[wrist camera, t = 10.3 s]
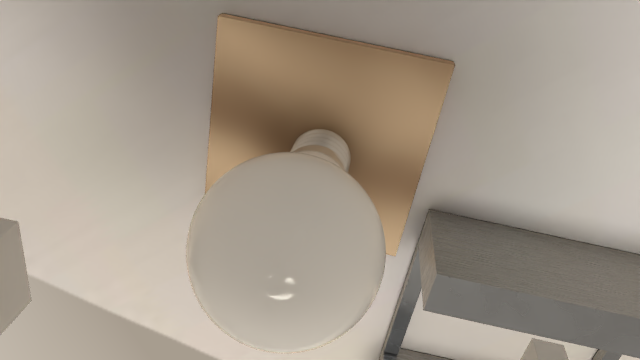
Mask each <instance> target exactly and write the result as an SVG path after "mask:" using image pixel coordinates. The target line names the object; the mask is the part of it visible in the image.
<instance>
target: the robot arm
mask: <svg viewBox="0 0 640 360" xmlns="http://www.w3.org/2000/svg"><path fill="white" fill-rule="evenodd" d="M30 302H31V294H30V288H29V282H28V276H27V270H26V264H25V258H24V252H23V247H22V241H21V235H20V229H19V223H18V222H17V221H13V220H9V219H4V218H0V335H1V334H2V333H3V332H4V331H5V330H6V328H7V327H8V326H9V325H10V324H11V323H12V322H13V321H14V320H15V318H16V317H17V316H18V315H19V314H20V313H21V312H22V311H23V310H24V308H25V307H26V306H27V305H28V304H29V303H30ZM520 360H568V357H567V354H566V351H565V348H564V346H563V345H560V344H555V343H551V342H546V341H542V340H537V339H533V338H532V340H531V342H530V343H529V345H528V347H527V349H526V351H525V352H524V354H523V356H522V358H521V359H520Z"/></svg>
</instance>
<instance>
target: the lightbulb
mask: <svg viewBox="0 0 640 360" xmlns="http://www.w3.org/2000/svg"><path fill="white" fill-rule="evenodd" d="M350 161H351V155H350V150H349V148H348V145H347V144H346V142H345V141H344V140H343V139H342V138H341V137H340V136H339V135H337V134H336V133H334V132H332V131H329V130H325V129H313V130H309V131H307V132H305V133H303V134H302V135H300V136H299V137H298V138H297V140H296V141H295V143H294V145H293V147H292V149H291V151H290V152H275V153H269V154H264V155H260V156H257V157H254V158H251V159H249V160H246V161H244V162H242V163H240V164H238V165H237V166H235V167H233V168H232V169H230V170H229V171H228V172H226V173H225V174H224V175H223V176H221V177H220V178H219V179H218V180H217V181H216V182H215V183H214V184H213V185H212V186H211V187H210V189H209V190H208V191H207V192H206V194H205V195H204V197H203V198H202V200H201V201H200V203H199V205H198V207H197V209H196V211H195V213H194V215H193V218H192V221H191V224H190V227H189V232H188V237H187V245H186V263H187V270H188V276H189V280H190V283H191V286H192V289H193V292H194V294H195V296H196V298H197V300H198V302H199V304H200V306H201V307H202V309H203V310H204V312H205V313H206V314H207V316H208V317H209V318H210V319H211V321H212V322H213V323H214V324H215V325H216V326H217V327H218V328H219V329H221V330H222V331H223V332H224V333H226V334H227V335H228V336H230V337H231V338H233V339H234V340H236V341H238V342H240V343H242V344H244V345H246V346H249V347H251V348H254V349H258V350H261V351H266V352H272V353H299V352H305V351H309V350H313V349H316V348H319V347H322V346H324V345H326V344H329V343H331V342H332V341H334V340H336V339H338V338H339V337H341V336H342V335H344V334H345V333H346V332H348V331H349V330H350V329H351V328H352V327H353V326H354V325H356V323H357V322H358V321H359V320H360V319H361V318H362V317H363V316H364V314H365V313H366V312H367V310H368V309H369V307H370V306H371V304H372V302H373V301H374V299H375V297H376V295H377V292H378V290H379V287H380V284H381V281H382V278H383V274H384V268H385V261H386V242H385V235H384V230H383V225H382V222H381V219H380V216H379V213H378V211H377V209H376V207H375V205H374V203H373V201H372V200H371V198H370V196H369V195H368V193H367V192H366V191H365V189H364V188H363V187H362V186H361V185H360V184H359V182H358V181H357V180H356V179H354V178H353V177H352V176H351V175H350V174H349V173H348V171H349V166H350Z"/></svg>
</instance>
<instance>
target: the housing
mask: <svg viewBox="0 0 640 360" xmlns="http://www.w3.org/2000/svg"><path fill="white" fill-rule="evenodd" d="M421 288H422V299H423V310H424V311H429V312H433V313H438V314H442V315H447V316H451V317H456V318H460V319H465V320H469V321H474V322H478V323H483V324H488V325H492V326H497V327H501V328H506V329H510V330H515V331H519V332H524V333H528V334H533V335H537V336H542V337H546V338H551V339H555V340H560V341H564V342H569V343H573V344H578V345H582V346H587V347H591V348H596V349H599V350H598V351H597V353H596V354H595V356H594V357H593V359H592V360H619V358H620V357H621V355H622V354H623V355H627V356H632V357H637V358H640V255H638V254H634V253H629V252H624V251H620V250H615V249H610V248H606V247H601V246H597V245H592V244H587V243H583V242H578V241H573V240H569V239H564V238H560V237H555V236H550V235H546V234H541V233H536V232H532V231H527V230H523V229H518V228H513V227H509V226H504V225H499V224H495V223H490V222H486V221H481V220H476V219H472V218H467V217H462V216H458V215H453V214H448V213H444V212H439V211H435V210H430V209H429V211H428V214H427V217H426V220H425V223H424V226H423V229H422V232H421V235H420V238H419V241H418V244H417V247H416V250H415V253H414V256H413V259H412V262H411V265H410V268H409V271H408V274H407V277H406V280H405V283H404V286H403V289H402V291H401V294H400V297H399V300H398V303H397V306H396V309H395V312H394V315H393V318H392V321H391V324H390V327H389V330H388V333H387V336H386V339H385V342H384V345H383V348H382V351H381V354H380V357H379V360H451V359H446V358H442V357H437V356H433V355H428V354H424V353H419V352H415V351H410V350H406V349H402V348H400V347H401V344H402V341H403V338H404V336H405V333H406V330H407V327H408V324H409V322H410V319H411V316H412V313H413V311H414V308H415V305H416V302H417V299H418V297H419V294H420V291H421Z"/></svg>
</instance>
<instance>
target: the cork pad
mask: <svg viewBox="0 0 640 360" xmlns="http://www.w3.org/2000/svg"><path fill="white" fill-rule="evenodd" d="M454 67H455V64H454V62H453V61H449V60H444V59H439V58H435V57H430V56H425V55H420V54H415V53H411V52H406V51H401V50H396V49H391V48H386V47H382V46H377V45H372V44H367V43H362V42H358V41H353V40H348V39H343V38H338V37H334V36H329V35H324V34H319V33H314V32H310V31H305V30H300V29H295V28H290V27H286V26H281V25H276V24H271V23H266V22H261V21H257V20H252V19H247V18H242V17H237V16H233V15H228V14H223V13H222V14H220V15H219V16H218V20H217V34H216V48H215V62H214V76H213V90H212V103H211V117H210V131H209V145H208V159H207V173H206V187H205V194H206V192H207V191H208V190H209V189H210V187H211V186H212V185H213V184H214V183H215V182H216V181H217V180H218V179H219V178H220V177H221V176H223V175H224V174H225V173H226V172H228V171H229V170H230V169H232V168H233V167H235V166H237V165H238V164H240V163H242V162H244V161H246V160H249V159H251V158H254V157H257V156H260V155H264V154H269V153H275V152H290V151H291V149H292V147H293V145H294V143H295V141H296V140H297V138H298V137H299V136H300V135H302V134H303V133H305V132H307V131H309V130H313V129H325V130H329V131H332V132H334V133H336V134H337V135H339V136H340V137H341V138H342V139H343V140H344V141H345V142H346V144H347V145H348V148H349V150H350V155H351V161H350V166H349V171H348V173H349V174H350V175H351V176H352V177H353V178H354V179H356V180H357V181H358V182H359V184H360V185H361V186H362V187H363V188H364V189H365V191H366V192H367V193H368V195H369V196H370V198H371V200H372V201H373V203H374V205H375V207H376V209H377V211H378V213H379V216H380V219H381V222H382V225H383V230H384V235H385V242H386V254H387V255H392V256H396V252H397V249H398V246H399V243H400V240H401V236H402V233H403V230H404V227H405V224H406V220H407V217H408V214H409V211H410V208H411V204H412V201H413V198H414V195H415V192H416V188H417V185H418V182H419V179H420V176H421V172H422V169H423V166H424V163H425V160H426V156H427V153H428V150H429V147H430V144H431V140H432V137H433V134H434V131H435V128H436V124H437V121H438V118H439V115H440V112H441V108H442V105H443V102H444V99H445V96H446V92H447V89H448V86H449V83H450V79H451V76H452V73H453V70H454Z"/></svg>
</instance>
